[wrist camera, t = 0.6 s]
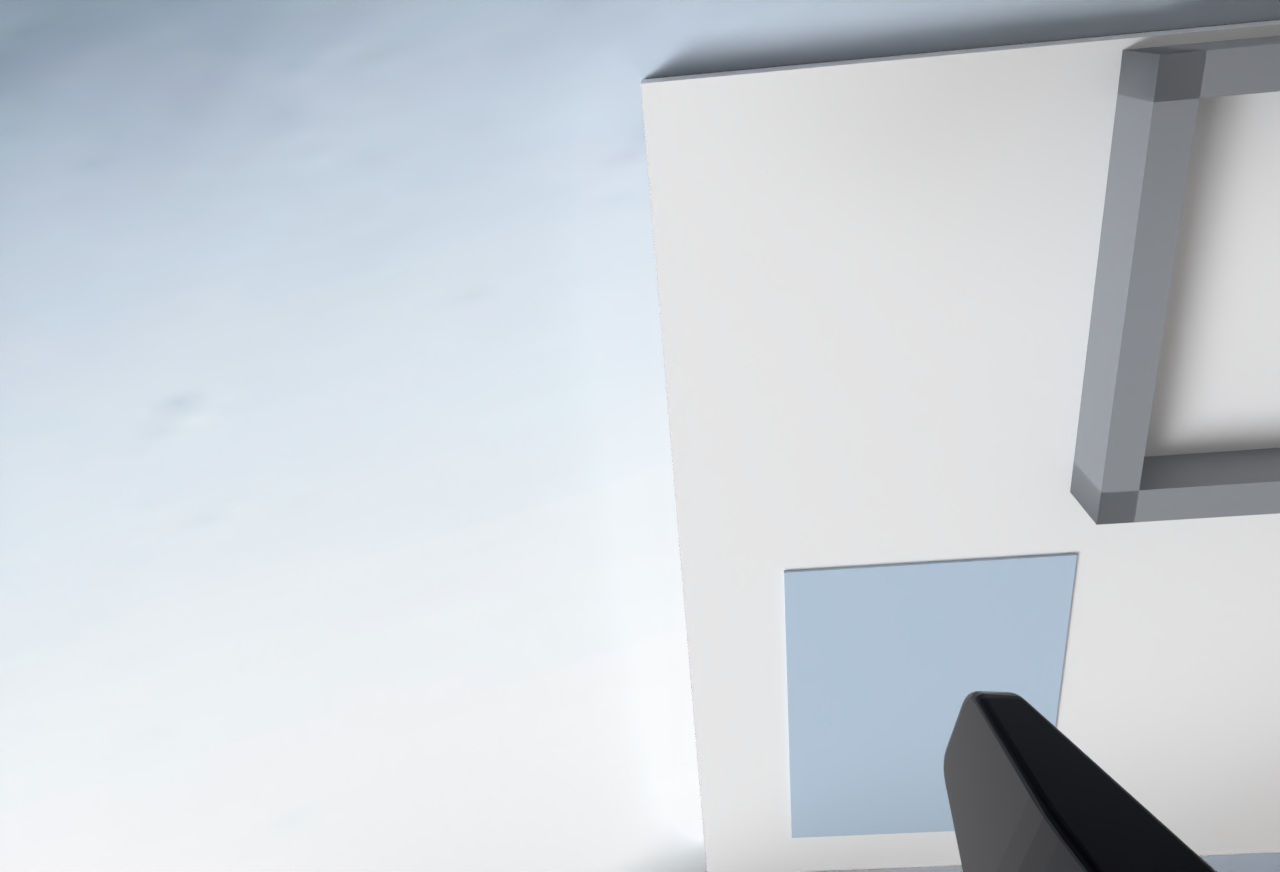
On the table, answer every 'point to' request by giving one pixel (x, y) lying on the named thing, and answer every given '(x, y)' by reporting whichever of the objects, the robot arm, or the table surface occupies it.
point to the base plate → (975, 429)
